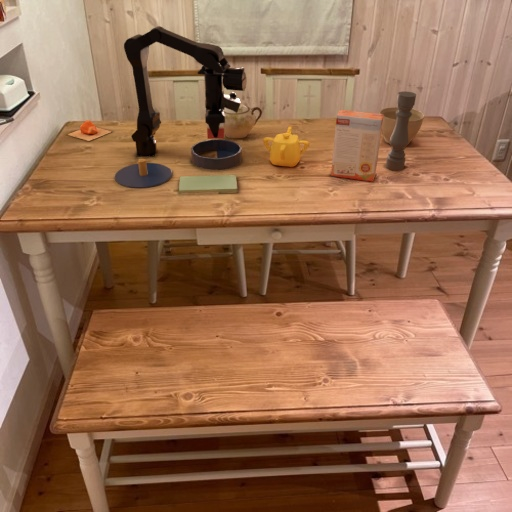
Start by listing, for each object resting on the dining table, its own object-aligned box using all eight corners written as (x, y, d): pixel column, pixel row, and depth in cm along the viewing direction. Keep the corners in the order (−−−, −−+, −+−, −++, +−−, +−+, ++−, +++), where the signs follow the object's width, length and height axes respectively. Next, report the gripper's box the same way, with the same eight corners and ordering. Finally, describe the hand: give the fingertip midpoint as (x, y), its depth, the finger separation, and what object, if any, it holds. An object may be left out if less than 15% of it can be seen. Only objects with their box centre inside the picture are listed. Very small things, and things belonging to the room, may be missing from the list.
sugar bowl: (210, 142, 195) (209, 103, 186) (211, 128, 207) (209, 90, 199) (262, 142, 196) (263, 102, 187) (260, 128, 208) (260, 90, 200)
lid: (111, 190, 161) (108, 173, 158) (119, 166, 176) (116, 149, 173) (170, 189, 163) (169, 171, 159) (173, 165, 178) (172, 148, 174)
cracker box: (375, 175, 172) (384, 113, 161) (372, 182, 168) (382, 119, 156) (334, 169, 176) (340, 108, 164) (330, 176, 171) (336, 114, 160)
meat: (207, 138, 173) (206, 127, 171) (207, 134, 177) (206, 123, 174) (224, 138, 174) (223, 126, 171) (223, 134, 177) (223, 122, 175)
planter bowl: (424, 139, 200) (429, 111, 194) (410, 152, 188) (416, 123, 182) (384, 130, 207) (388, 103, 201) (369, 143, 195) (373, 115, 189)
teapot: (258, 158, 183) (259, 130, 177) (289, 151, 189) (290, 123, 183) (279, 172, 173) (280, 143, 168) (310, 165, 179) (313, 136, 173)
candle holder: (405, 165, 179) (418, 92, 165) (401, 172, 175) (415, 98, 161) (387, 162, 181) (399, 90, 167) (383, 168, 177) (395, 95, 163)
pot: (191, 171, 173) (190, 159, 171) (192, 151, 188) (191, 139, 185) (242, 170, 175) (242, 158, 172) (240, 150, 189) (240, 138, 186)
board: (179, 194, 160) (178, 190, 159) (180, 180, 168) (180, 176, 167) (237, 192, 161) (237, 188, 160) (235, 178, 169) (235, 174, 168)
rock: (89, 141, 195) (87, 130, 192) (66, 134, 200) (64, 124, 198) (112, 131, 203) (110, 121, 201) (90, 125, 208) (88, 115, 206)
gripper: (240, 96, 159) (241, 144, 168) (237, 79, 174) (237, 124, 183) (204, 97, 158) (206, 145, 167) (204, 80, 174) (206, 125, 182)
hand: (215, 135), depth 175 cm, fingers closed on meat, 4 cm apart
